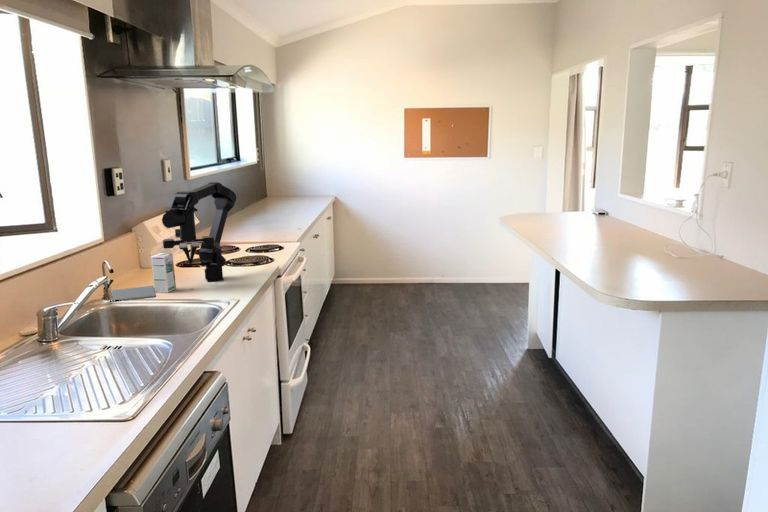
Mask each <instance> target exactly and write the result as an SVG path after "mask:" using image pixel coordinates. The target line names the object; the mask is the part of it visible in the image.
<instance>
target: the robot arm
mask: <svg viewBox="0 0 768 512" xmlns="http://www.w3.org/2000/svg"><path fill="white" fill-rule="evenodd" d="M209 196H211V197H212V198H213V199H214V200H213V201H214V206H215V212H214V215H213V220H212V222H211V223H212V224H211V228H210V231H209V235H203V236H202V237H201V238H197V233H196V232H197V230H196V220H195V213H196V212H198V208H196V207H195V206H197V204H198V203H199V201H200V200H202V199H204V198H207V197H209ZM236 201H237V194H236V193H235V192H234V191H233V190H231V189H230V188H229V187H227V186H225V185H223V184H222V183H220V182H216V181H215V182H214V181H211V182H208V183H207V184H203V185H202V186H200V187H196V188H194V189H191V190H182V191H181V190H180V191H176V193H175V194H174V197H173V199H172V201H171V205H170V207H169V209H165V213H164V214H163V215H162V219H161V222H162V225H163V226H164V227H165V228H167V229H172V228H175V229H174V234H175V238H177V240H174V238H164V239H163V240H162V246H163V249H165V250H166V249H172V248H174V247H175V246H178V248H179V250H182V251H183V252H184V254H185V256H186V259H187V261H188V263H189V264H190V265H191V264H192V263H193V260H194V257H195V254H196V252H197V250H198V249H199V248H200V249H199V251H198V258H199V261H200V263H201V266H205V268H204V278H205V280H206V281H207V282H208V283H209V282H219V281H224V279H225V278H224V276H223V275H224V274H223V267H225V265H227V259H226V258H225V257H224V256H223V254H222V251H223V250H222V247H221V240H222V236H223V233H224V228H225V225H226V221H227V217H228V214H229V212H230V211H231V210H232V209H233V208H234V206H235V204H236ZM177 227H179V228H177ZM188 245H189V246H190V250H189V247H188ZM189 251H190V252H189Z"/></svg>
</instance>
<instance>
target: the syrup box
mask: <svg viewBox="0 0 768 512" xmlns="http://www.w3.org/2000/svg"><path fill="white" fill-rule="evenodd" d="M151 268H152V276H153V284H154V285H153V287H154V292H155V293H160V294H161V293H162V294H163V293H164V294H165V293H167V294H169V293H170V292H172V291H174V290H177V286H176V285H177V284H176V276H175V275H176V274H175V266H174V256H173V253H172V252H171V253H170V252H162V253H161V252H160V253H158V254H155V255H151Z"/></svg>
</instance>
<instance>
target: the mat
mask: <svg viewBox="0 0 768 512" xmlns="http://www.w3.org/2000/svg"><path fill="white" fill-rule="evenodd" d="M110 290H111V291H112V294H113V299H111V300H112V301H114V300H124V301H129V300H128V299H133V300H139V299H142V300H143V299H150V298H156V294H155V293H156V292H155V287H154V285H147V286H146V285H145V286H137V287H129V288H118V289H110ZM111 300H110V301H111ZM108 301H109V300H108V299H107V302H108Z"/></svg>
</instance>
